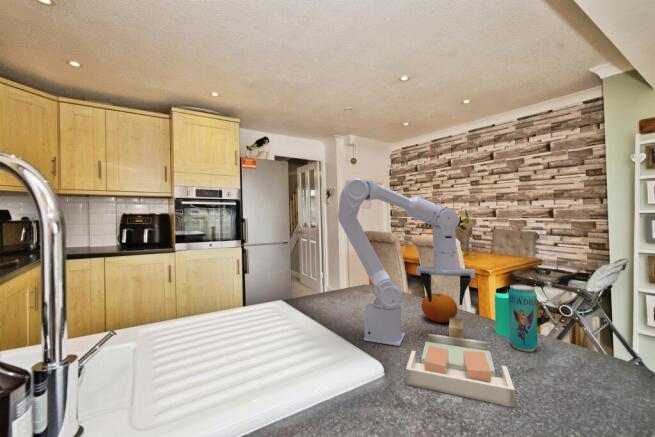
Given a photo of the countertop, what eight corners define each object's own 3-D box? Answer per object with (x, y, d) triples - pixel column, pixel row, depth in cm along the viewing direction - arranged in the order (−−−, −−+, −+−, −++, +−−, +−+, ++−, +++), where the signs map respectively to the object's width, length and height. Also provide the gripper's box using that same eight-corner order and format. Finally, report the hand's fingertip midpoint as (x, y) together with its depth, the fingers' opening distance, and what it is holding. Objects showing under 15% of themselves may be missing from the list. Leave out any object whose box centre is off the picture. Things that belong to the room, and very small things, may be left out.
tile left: (424, 371, 60) (424, 361, 59) (429, 354, 64) (428, 345, 63) (445, 376, 58) (445, 366, 57) (448, 359, 62) (448, 349, 61)
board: (421, 365, 63) (421, 358, 63) (425, 347, 72) (425, 341, 72) (495, 379, 57) (495, 371, 57) (490, 358, 66) (489, 351, 66)
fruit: (464, 325, 86) (464, 298, 86) (432, 327, 85) (432, 300, 85) (444, 313, 97) (444, 290, 97) (415, 315, 95) (415, 291, 95)
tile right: (467, 380, 56) (467, 369, 56) (463, 360, 61) (463, 350, 60) (490, 382, 55) (491, 371, 54) (484, 362, 60) (484, 352, 59)
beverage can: (511, 350, 70) (510, 288, 70) (507, 341, 75) (506, 283, 75) (540, 355, 67) (539, 290, 67) (534, 345, 72) (533, 285, 72)
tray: (406, 384, 56) (405, 368, 56) (412, 364, 64) (412, 350, 64) (515, 407, 49) (514, 390, 49) (506, 381, 56) (506, 366, 56)
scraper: (428, 348, 72) (427, 326, 72) (430, 335, 79) (430, 315, 79) (487, 357, 66) (487, 333, 66) (484, 343, 74) (484, 322, 74)
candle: (524, 338, 76) (524, 293, 76) (500, 336, 78) (499, 292, 78) (514, 329, 82) (514, 287, 82) (491, 328, 83) (491, 287, 84)
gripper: (414, 252, 77) (415, 303, 77) (475, 254, 71) (476, 309, 71) (418, 250, 84) (418, 296, 84) (474, 251, 77) (474, 302, 77)
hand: (445, 302), depth 78 cm, fingers open, 7 cm apart
